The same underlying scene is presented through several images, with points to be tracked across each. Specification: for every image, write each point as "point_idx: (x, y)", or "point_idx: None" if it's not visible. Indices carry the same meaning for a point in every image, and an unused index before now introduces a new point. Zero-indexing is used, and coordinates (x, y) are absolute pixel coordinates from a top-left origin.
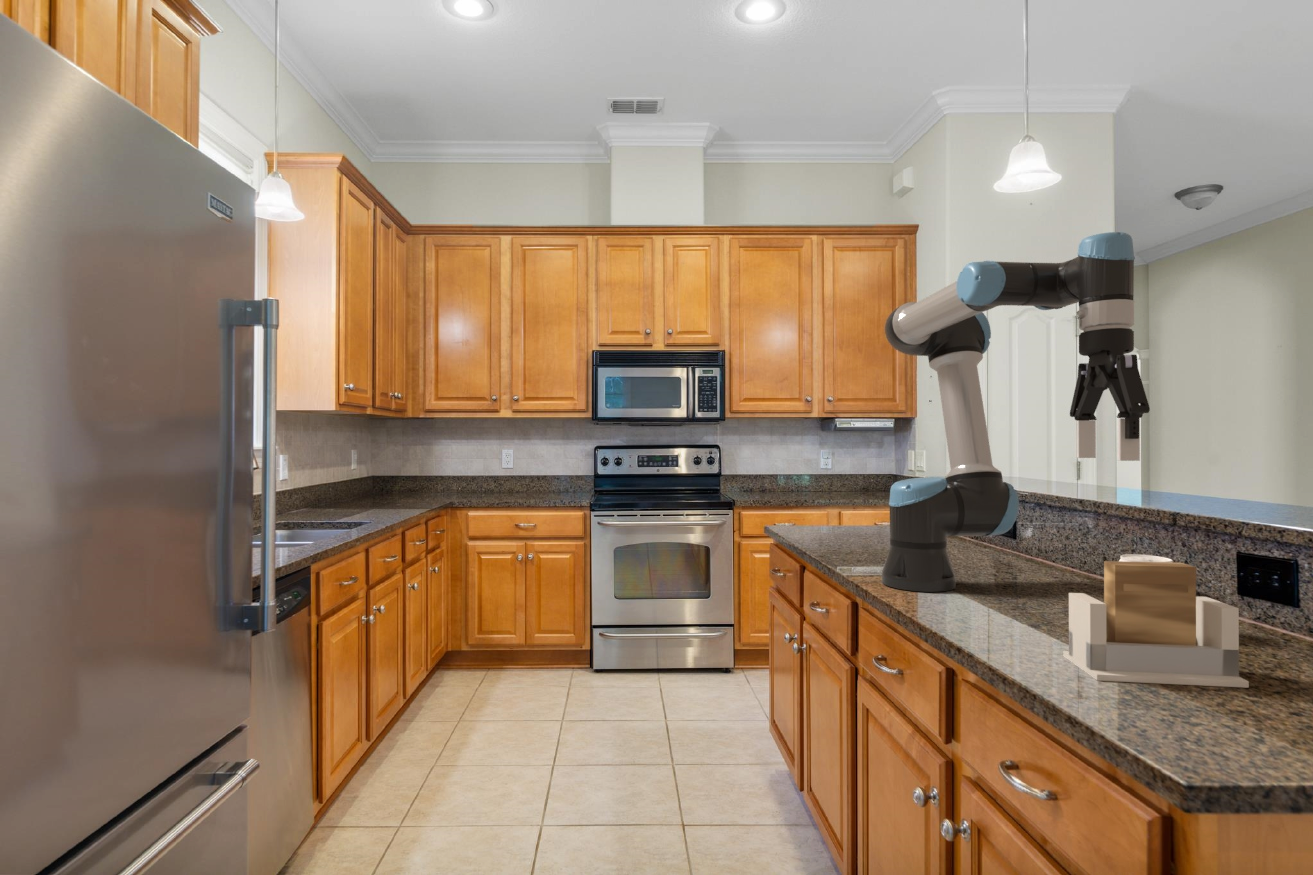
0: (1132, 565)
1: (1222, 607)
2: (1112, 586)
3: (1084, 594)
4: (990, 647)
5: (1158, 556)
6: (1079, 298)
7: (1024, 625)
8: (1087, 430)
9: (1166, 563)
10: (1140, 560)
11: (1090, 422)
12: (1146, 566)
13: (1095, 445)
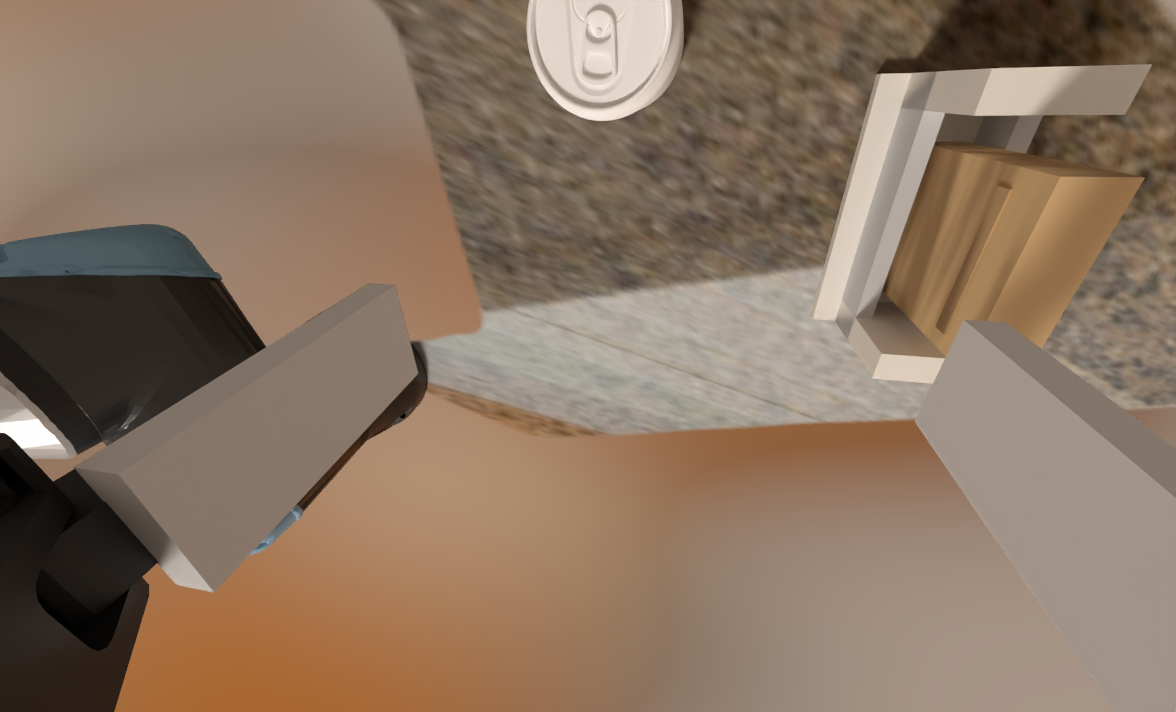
0: (1044, 341)
1: (1122, 109)
2: None
3: (893, 358)
4: (756, 394)
5: None
6: None
7: (625, 296)
8: (266, 454)
9: (1052, 234)
10: (602, 52)
11: (179, 497)
12: (1063, 309)
13: (340, 325)
